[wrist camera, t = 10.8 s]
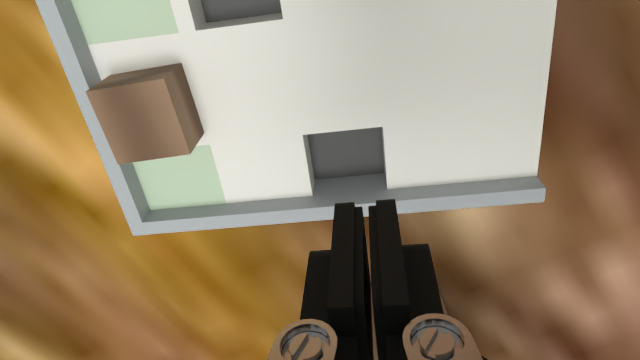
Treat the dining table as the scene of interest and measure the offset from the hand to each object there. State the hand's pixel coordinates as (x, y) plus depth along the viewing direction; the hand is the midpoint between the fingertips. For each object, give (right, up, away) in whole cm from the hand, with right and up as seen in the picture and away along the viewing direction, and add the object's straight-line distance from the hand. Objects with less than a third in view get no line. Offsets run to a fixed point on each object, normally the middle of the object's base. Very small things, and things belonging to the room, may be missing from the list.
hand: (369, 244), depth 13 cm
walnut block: (-11, +6, +15) cm, 20 cm away
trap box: (-2, +9, +16) cm, 18 cm away
